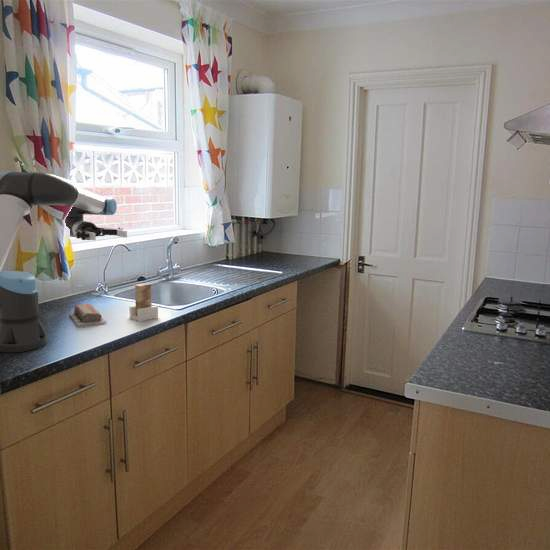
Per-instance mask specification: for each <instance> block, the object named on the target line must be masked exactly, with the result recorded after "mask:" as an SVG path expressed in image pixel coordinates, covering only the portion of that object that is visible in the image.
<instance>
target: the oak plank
mask: <svg viewBox="0 0 550 550" xmlns="http://www.w3.org/2000/svg"><path fill="white" fill-rule="evenodd" d="M134 289H135V290H134V291H135V293H134V294H135V305H136V316H138V311H137V309H141V308H146V307H151V306H152V284H151V283H147V282H145V283H144V282H143V283H138V284H135V285H134Z"/></svg>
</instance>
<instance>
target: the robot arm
mask: <svg viewBox="0 0 550 550" xmlns="http://www.w3.org/2000/svg"><path fill="white" fill-rule="evenodd" d="M70 205H71V206H73V207H72V209H71V211H70V212H69V214H68V216H67V217H66V219H65V218H64V221H65V223H66V226H67V227H68V228H69V229H70V236H69V237H71V238H76V239H81V240H82V241H86V240H87V241H96V240H97V239H96V237H97V238H98V237H105V236H116V237H121V238H128V231H127V230H124V228H121V227H118V228H111V227H98V226H96V224H95V223H93V222H91V221H84V215H90V216H92V215H97V216H98V215H99V216H114V215H115V214H116V212H117V210H118V209H117V201H116V199H115V198H113V197H109V196H107V197H105V196H104V197H103V196H100V195H98V194H96V193H93V192H90V191H88V190H85V189H83V188H80V187H78V186H77V184H76V183H74V182H73V181H71V180H68V179H66V178H63V177H61V176H58V175H55V174H52V173H46V172H34V171H33V172H32V171H31V172H28V171H27V172H26V171H25V172H23V171H6V172H5V171H4V172H1V173H0V352H1V353H23V352H29V351H33V350H36V349H37V350H38V349H39V348H42V347H44V346H46V344H47V343H48V340H47V339H48V336H47V334H46V331H45V329H44V326H43V324H42V322H41V320H40V308H39V292H38V291H39V287H38V282H37V278H36V277H35V276H34V275H33V274H32V273H29V272H25V271H21V270H3V268H4V265H5V263H6V260H7V257H8V255H9V252H10V250H11V247H12V245H13V243H14V240H15V237H16V235H17V233H18V230H19V228H20V225H21V223H22V221H23V219H24V218H23V217H25V216H27V215H29V214H30V212H31V211H32V209H33V206H43V207H44V206H61V207H64V206H70Z"/></svg>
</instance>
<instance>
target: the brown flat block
mask: <svg viewBox="0 0 550 550" xmlns="http://www.w3.org/2000/svg"><path fill="white" fill-rule="evenodd" d="M69 316H70V317H71V319H72V320H73V322H74V324H75V325H76V326H77V327H78V328H84V327H92V326H99V325H107V320H105V319H104V318H103V315H102V314H101V313H100V312H99V311H98V310H97V308H95V306H94V305H93V304H91V303H83V304H81V303H80V304H75V305H74V308H73V312H72V311H71V312H69Z"/></svg>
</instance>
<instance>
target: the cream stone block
mask: <svg viewBox="0 0 550 550" xmlns="http://www.w3.org/2000/svg"><path fill="white" fill-rule="evenodd" d="M137 311H138V316H136V304H134V305H130V306H129V318H130V319H133V320H135V321H137V322H144V321H148V319H149V320H152V318H154V319H157V318H156V317H158V318H159V306H158V305H151V307H146V308H141V309H137Z"/></svg>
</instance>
